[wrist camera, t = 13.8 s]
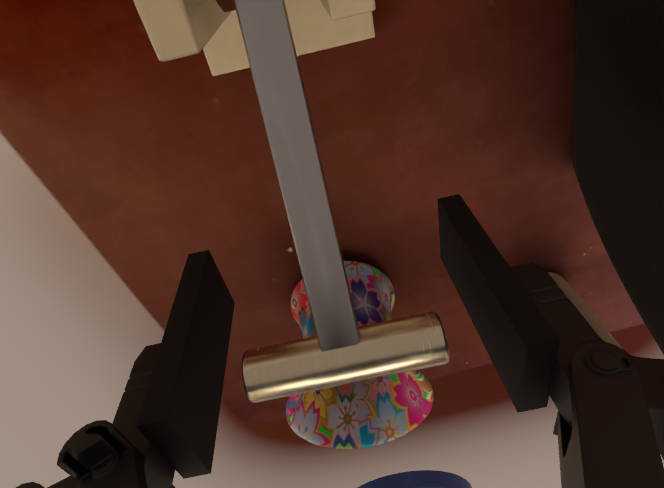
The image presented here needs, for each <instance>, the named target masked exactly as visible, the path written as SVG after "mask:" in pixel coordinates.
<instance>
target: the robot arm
mask: <svg viewBox="0 0 664 488" xmlns="http://www.w3.org/2000/svg"><path fill="white" fill-rule="evenodd" d="M438 214H439V233H440V251H441V259H442V261H443V263H444V265H445V267H446V269H447V271H448V273H449V275H450V277H451V279H452V281H453V283H454V285H455V287H456V289H457V291H458V293H459V295H460V297H461V299H462V302H463V304H464V306H465V308H466V310H467V312H468V314H469V316H470V318H471V320H472V322H473V324H474V326H475V328H476V330H477V332H478V334H479V336H480V338H481V340H482V342H483V344H484V346H485V348H486V350H487V352H488V354H489V356H490V358H491V360H492V362H493V364H494V366H495V368H496V370H497V372H498V374H499V376H500V378H501V380H502V382H503V384H504V386H505V388H506V389H507V392H508V394H509V396H510V398H511V400H512V402H513V404H514V406H515V408H516V410H517V412H523V411H528V410H533V409H538V408H542V407H547V403H548V397H549V395H550V397H551V398H552V400H553V402H554V403H555V405H556V407H557V409H558V413H557V418H556V422H555V426H554V432H553V434H555V435H558V444H559V458H560V470H561V484H562V488H664V468H663V464H662V460H661V456H660V454H661V455H662V457H663V459H664V359H650V358H641V357H635V356H631V355H629V354H628V353H627V352H626V351H625V350H623V349H621V348H619V347H618V346H616V345H614V344H611V343H607V342H604V341H603V340H602V339H601V338H600V337H599V335H598V334H597V333H596V332H595V330H594V329H593V328H592V327H591V325H590V324H589V323H588V322H587V320H586V319H585V318H584V317H583V315H582V314H581V313H580V312H579V310H578V309H577V308H576V307H575V305H574V304H573V303H572V302H571V301H570V299H569V298H567V296H566V294H565V293H564V292H563V291H562V289H561V288H559V287H558V284H557V283H556V282H555V281H554V279H553V278H552V277H551V276H550V274H549V273H548V272H546V271H545V270H543V269H541V268H540V267H538V266H537V265H535V264H533V263H529V264H524V265H520V266H515V267H509V265H508V264H507V262H506V261H505V259H504V258H503V257H502V255H501V254H500V252H499V251H498V249H497V248H496V247H495V245H494V244H493V242H492V241H491V239H490V238H489V236H488V235H487V234H486V232H485V231H484V229H483V228H482V226H481V225H480V224H479V222H478V221H477V219H476V218H475V216H474V215H473V214H472V212H471V211H470V209H469V208H468V206H467V205H466V204H465V202H464V201H463V199H462V198H461V196H460V195H459V194H458V195H453V196H449V197H444V198H440V199H438ZM233 310H234V301H233V299H232V297H231V295H230V293H229V290H228V288H227V286H226V284H225V282H224V280H223V278H222V276H221V274H220V272H219V270H218V268H217V266H216V264H215V262H214V260H213V258H212V256H211V254H210V252H209V250H206V251H202V252H197V253H193V254H189V255H188V258H187V261H186V264H185V268H184V271H183V274H182V277H181V280H180V284H179V287H178V290H177V293H176V297H175V300H174V303H173V306H172V310H171V313H170V316H169V319H168V323H167V326H166V329H165V332H164V336H163V339H162V342H161V343H159V344H155V345H150V346H146V347H145V348H144V350H143V351H142V352H141V354H140V355H139V356H138V358H137V359H136V361H135V362H134V365H133V368H132V371H131V373H130V379H129V380H128V382H127V385H126V387H125V392H124V393H123V396H122V399H121V401H120V404H119V407H118V410H117V413H116V415H115V418H114V421H113V424H112V423H110V422H108V421H106V420H105V421H104V420H103V421H95V422H92V423H90V424H87V425H85V426H84V427H82V428H81V429H80V430H78V431H77V432H75V433H74V434H73V435H72V437H70V439H69V440H68V441H67V442H66V443H65V445H64V446H63V448H62V450H61V452H60V453H59V457H58V461H57V465H58V466H59V467H60V468H62V469H63V470H64V471H65V472H67V473H68V474H70V475H71V476H69V477H67V478H65V479H63V480H61V481H60V482H58V483H56V484H54V485H52V486H50V487H48V488H175V487H174V486H173V485H172V482H173V477H174V472H175V470H176V471H178V473H179V474H180V475H181V476H182V477H183V478H189V477H194V476H199V475H204V474H209V473H211V468H212V461H213V454H214V447H215V440H216V432H217V425H218V417H219V411H220V404H221V396H222V389H223V382H224V375H225V368H226V360H227V353H228V346H229V339H230V332H231V324H232V317H233ZM16 488H44V487H43V486H41V485H40V484H37V483H34V482H30V483H25V484H22V485H20V486H18V487H16Z"/></svg>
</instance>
